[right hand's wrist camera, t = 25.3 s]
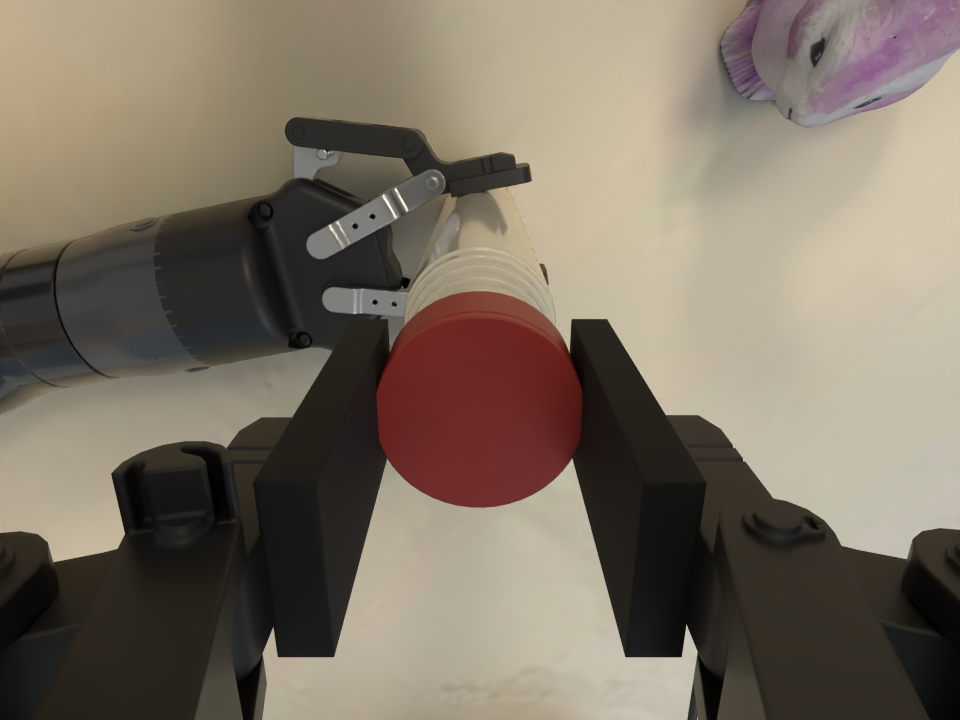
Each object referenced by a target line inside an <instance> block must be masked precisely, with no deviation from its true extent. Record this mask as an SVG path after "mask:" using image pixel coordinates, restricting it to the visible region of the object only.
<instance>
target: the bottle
mask: <svg viewBox="0 0 960 720" xmlns="http://www.w3.org/2000/svg"><path fill="white" fill-rule="evenodd" d="M471 291H490V292H496V293H502V294H506V295H509V296H512V297H515V298H517V299H520V300H522V301H524V302H526V303H528V304H530V305H531V306H533V307H534V308H536V309H537V310H539V311H540V312H541V313H542V314H544V315H545V316H546V317H547V318H548V319H549V320H550V321H551V322H552V323H553V324H554V326H555V327H556V314H555V306H554V302H553V299H552V295H551V293H550V290H549V288H548V285H547V283H546V280H545V277H544V275H543V272H542V270H541V267H540V265H539V262H538V259H537V257H536V254H535V252H534V249H533V247H532V244H531V241H530V239H529V236H528V234H527V231H526V229H525V226H524V224H523V221H522V218H521V216H520V213H519V211H518V208H517V206H516V203H515V201H514V198H513V197H512V195H511V193H510V192H509V191H508V190H507V189H506V188H505V187H502V188H497V189H492V190H487V191H482V192H477V193H471V194H467V195H462V196H457V197H452V198H451V194H450V193H449V195H448V196H447V198H446V200H445V203H444V205H443V208H442V210H441V213H440V215H439V218H438V220H437V223H436V226H435V228H434V231H433V233H432V236H431V238H430V241H429V243H428V246H427V248H426V251H425V253H424V256H423V258H422V261H421V264H420V266H419V269H418V271H417V274H416V276H415V279H414V281H413V284H412V286H411V289H410V291H409V294H408V297H407V300H406V304H405V309H404V326H405V325H406V324H407V322H408V321H409V320H410V319H411V318H412V317H413V316H415V315H416V314H417V313H418V312H419V311H421V310H422V309H423V308H425V307H426V306H428V305H429V304H431V303H433V302H435V301H437V300H439V299H442V298H444V297H447V296H450V295H453V294H458V293H462V292H471Z"/></svg>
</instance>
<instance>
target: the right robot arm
mask: <svg viewBox="0 0 960 720" xmlns="http://www.w3.org/2000/svg"><path fill="white" fill-rule="evenodd" d="M389 354H390V350H389V331H388V319H352V321H351V323H350V324H349V326H348V328H347V329H346V331H345V332H344V334H343V336H342V337H341V339H340V341H339V342H338V344H337V346H336V347H335V349H334V350H333V352H332V354H331V355H330V357H329V359H328V360H327V362H326V363H325V365H324V367H323V368H322V370H321V372H320V373H319V375H318V377H317V378H316V380H315V381H314V383H313V385H312V386H311V388H310V390H309V391H308V393H307V394H306V396H305V398H304V399H303V401H302V403H301V404H300V406H299V408H298V409H297V411H296V412H295V414H294V416H293V417H292V418H260V419H258V420H257V421H255V422H253V423H252V424H250V425H249V426H247V427H245V428H244V429H242V430H240V431H239V432H238V434H237V435H236V436H235V438H234V439H233V440H232V442H231V443H230V444H229V446H228V447H227V449H226V448H225V447H223V446H222V445H219V444H215V443H210V442H206V441H184V442H179V443H173V444H167V445H162V446H159V447H156V448H153V449H150V450H147V451H144V452H141V453H139V454H137V455H135V456H133V457H131V458H130V459H128V460H126V461H124V462H122V463H121V464H120V465H119V466H118V467H117V468H116V469H115V470H114V471H113V472H112V473H111V475H112V479H113V484H114V488H115V492H116V496H117V501H118V505H119V509H120V514H121V518H122V522H123V526H124V531H125V535H124V537H123V539H122V541H121V543H120V545H119V547H118V549H116V550H112V551H108V552H104V553H99V554H94V555H89V556H84V557H79V558H73V559H68V560H63V561H58V562H53V560H52V556H51V553H50V549H49V546H48V542H47V541H45V540H44V539H43V538H42V537H40V536H39V535H38V534H32V533H27V532H21V531H19V532H8V533H0V720H262V716H263V708H264V700H265V693H266V685H267V682H266V674H265V667H264V661H263V654H262V653H263V651H264V648H265V646H266V643H267V641H268V638H269V636H270V633H271V631H272V628H273V626H274V633H275V640H276V647H277V654H278V657H334V655H335V651H336V648H337V644H338V640H339V637H340V633H341V629H342V625H343V622H344V618H345V614H346V610H347V607H348V603H349V599H350V595H351V592H352V588H353V584H354V580H355V577H356V573H357V569H358V565H359V562H360V558H361V554H362V550H363V547H364V543H365V539H366V535H367V532H368V528H369V524H370V520H371V517H372V513H373V509H374V505H375V502H376V498H377V494H378V490H379V487H380V483H381V479H382V475H383V472H384V468H385V464H386V460H387V457H386V455H385V453H384V451H383V449H382V447H381V445H380V442H379V429H378V413H377V397H376V391H377V387H378V383H379V380H380V378H381V375H382V372H383V370H384V367H385V364H386V362H387V359H388V356H389ZM570 356H571V359H572V362H573V364H574V367H575V370H576V372H577V375H578V378H579V381H580V384H581V386H582V390H583V405H582V421H581V437H580V443H579V445H578V448H577V450H576V452H575V454H574V455H573V457H572V458H573V462H574V466H575V470H576V473H577V477H578V481H579V485H580V488H581V492H582V496H583V500H584V503H585V507H586V511H587V515H588V518H589V522H590V526H591V530H592V533H593V537H594V541H595V545H596V548H597V552H598V556H599V560H600V563H601V567H602V571H603V575H604V578H605V582H606V586H607V590H608V593H609V597H610V601H611V605H612V608H613V612H614V616H615V620H616V623H617V627H618V631H619V635H620V638H621V642H622V646H623V650H624V653H625V657H682V651H683V644H684V637H685V630H686V624H687V626H688V629H689V631H690V634H691V636H692V639H693V641H694V644H695V646H696V649H697V651H698V654H697V661H696V667H695V674H694V680H693V686H692V693H691V699H690V706H689V712H688V719H687V720H697V716H698V720H960V530H954V529H942V528H939V529H933V530H927V531H922V532H921V533H920V534H918V535H917V536H916V537H915V538H914V539H913V540H912V544H911V547H910V551H909V554H908V558H907V559H902V558H897V557H892V556H886V555H881V554H876V553H871V552H866V551H860V550H856V549H852V548H848V547H844V546H841V544H840V542H839V540H838V538H837V536H836V534H835V533H834V531H833V530H832V529H831V528H830V527H829V526H828V524H827V523H826V522H825V521H824V520H823V519H821V518H820V517H818V516H817V515H815V514H814V513H812V512H810V511H809V510H807V509H805V508H802V507H800V506H797V505H795V504H792V503H790V502H787V501H783V500H778V499H773V497H772V496H771V495H770V494H769V492H768V491H767V490H766V488H765V487H764V486H763V484H762V483H761V482H760V480H759V479H758V478H757V476H756V475H755V474H754V472H753V471H752V470H751V468H750V467H749V466H748V465H747V463H746V462H743V458H742V457H741V455H740V454H739V453H738V451H737V450H736V449H735V448H733V445H732V443H731V442H730V441H729V439H728V438H727V437H726V436H725V434H724V433H723V432H722V430H721V429H720V428H718V427H716V426H715V425H713V424H712V423H710V422H708V421H707V420H705V419H703V418H702V417H700V416H698V415H665V413H664V412H663V410H662V408H661V407H660V405H659V403H658V402H657V400H656V399H655V397H654V395H653V394H652V392H651V390H650V389H649V387H648V386H647V384H646V382H645V381H644V379H643V377H642V376H641V374H640V372H639V371H638V369H637V368H636V366H635V364H634V363H633V361H632V359H631V358H630V356H629V354H628V353H627V351H626V350H625V348H624V346H623V345H622V343H621V341H620V340H619V338H618V337H617V335H616V333H615V332H614V330H613V328H612V327H611V325H610V323H609V322H608V320H607V319H572V322H571V341H570Z"/></svg>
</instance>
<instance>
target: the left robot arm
mask: <svg viewBox="0 0 960 720" xmlns="http://www.w3.org/2000/svg"><path fill="white" fill-rule="evenodd" d="M285 134H286V137H287V139H288V141H289V142H290V143H291V144H293V179H291V180H289V181H288V182H286V183H285V184H284V185H283V186H282V187H281V188H280V189H279V190H277V191H276V192H274V193H273V194H269V195H264V196H259V197H255V198H250V199H245V200H240V201H235V202H230V203H225V204H220V205H215V206H210V207H206V208H201V209H196V210H191V211H186V212H181V213H176V214H171V215H166V216H161V217H156V218H146V219H143V220H140V221H136V222H132V223H128V224H124V225H120V226H116V227H113V228H110V229H107V230H105V231H102V232H99V233H97V234H94V235H91V236H88V237H84V238H80V239H74V240H70V241H65V242H60V243H55V244H50V245H45V246H40V247H35V248H30V249H25V250H21V251H16V252H12V253H8V254H4V255H0V415H2V414H4V413H7V412H9V411H11V410H13V409H15V408H18V407H20V406H22V405H23V404H25V403H27V402H29V401H31V400H33V399H34V398H36V397H38V396H40V395H42V394H44V393H46V392H48V391H51V390H54V389H61V388H67V387H74V386H79V385H85V384H90V383H96V382H101V381H106V380H112V379H117V378H121V377H129V376H150V375H163V374H171V373H177V372H183V371H188V372H195V371H200V370H204V369H208V368H210V367H211V366H215V365H221V364H226V363H231V362H237V361H242V360H247V359H253V358H258V357H263V356H269V355H274V354H280V353H285V352H291V351H296V350H301V349H305V348H311V347H319V348H324V349H328V350H331V351H333V350H334V349H335V347H336V346H337V344H338V342H339V341H340V339H341V337H342V336H343V334H344V332H345V331H346V329H347V328H348V326H349V324H350V323H351V321H352V319H381V318H382V317H383V316H395V317H404V309H405V304H406V300H407V297H408V294H409V291H410V289H411V286H412V284H413V281H414V279H415V276H413V275H403V274H402V271H401V266H400V263H399V261H398V260H397V258H396V256H395V254H394V252H393V250H392V229H391V225H390V223H391V222H393V221H395V220H396V219H398V218H400V217H402V216H403V215H404V214H406V213H408V212H409V211H411V210H413V209H415V208H417V207H419V206H421V205H422V204H424V203H426V202H428V201H430V200H432V199H433V198H435V197H437V196H439V195H441V194H446V193H450V194H451V198H452V197H457V196H462V195H467V194H471V193H477V192H482V191H487V190H492V189H497V188H502V187H507V186H512V185H517V184H522V183H527V182H530V181H532V178H531V172H530V166H529V164H528V163H521V164H516V163H515V157H514V155H513V154H508V153H503V152H500V153H495V154H490V155H485V156H480V157H475V158H470V159H465V160H460V161H456V162H444V161H442V160H440V159H439V158H438V157H437V156H436V155H435V154H434V152H433V150H432V149H431V147H430V145H429V144H428V142H427V140H426V137H425V135H424V134H423V133H422V132H421V131H420V130H418V129H412V128H403V127H394V126H386V125H377V124H368V123H359V122H351V121H342V120H333V119H325V118H316V117H297V118H293V119H291V120H290V121H288V123H287V124H286V127H285ZM343 152H350V153H359V154H368V155H376V156H385V157H394V158H403V160H404V161H405V163H406V164H407V166H408V168H409V169H410V171H411V173H412V174H413V176H412V177H410V178H408V179H406V180H405V181H403V182H401V183H399V184H397V185H395V186H393V187H391V188H389V189H388V190H386V191H384V192H382V193H380V194H378V195H377V196H375V197H373V198H371V199H369V200H368V201H365V200H363V199H361V198H359V197H356V196H354V195H352V194H350V193H348V192H346V191H344V190H341V189H339V188H337V187H335V186H333V185H331V184H328V183H326V182H324V181H322V180H320V179H318V173H319V171H320V170H321V169H322V168H323V167H330V166H333V165H336V164H338V163H339V162H340V161H341V159H342V157H343ZM539 265H540V267H541V270H542V272H543V275H544V277H545V280H546V283H547V285H549V283H548V277H547V270H546V268H545V266H544V264H539ZM401 286H403V288H401ZM395 302H396V303H397V304H394V303H395ZM391 349H392V346H391V345H390V344H389V350H390V351H391Z"/></svg>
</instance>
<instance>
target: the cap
mask: <svg viewBox="0 0 960 720" xmlns="http://www.w3.org/2000/svg"><path fill="white" fill-rule="evenodd" d="M376 397H377V413H378V429H379V442H380V445H381V447H382V449H383V451H384V453H385V455H386V457H387V459H388V460H389V462H390V463H391V465H392V466H393V467H394V468H395V470H396V471H397V472H398V473H399V474H400V475H401V476H402V477H403V478H404V479H405V480H406V481H407V482H408V483H410V484H411V485H412V486H414V487H415V488H417V489H418V490H419V491H421V492H423V493H425V494H427V495H429V496H430V497H432V498H435V499H437V500H440V501H443V502H446V503H450V504H454V505H458V506H465V507H482V508H484V507H495V506H501V505H506V504H510V503H513V502H516V501H519V500H522V499H524V498H526V497H529V496H531V495H533V494H535V493H536V492H538V491H540V490H541V489H543V488H544V487H546V486H547V485H548V484H549V483H551V482H552V481H553V480H554V479H555V478H556V477H557V476H558V475H559V474H560V473H561V472H562V471H563V470H564V469H565V467H566V466H567V465H568V463H569V462H570V461H571V459H572V457H573V455H574V454H575V452H576V450H577V448H578V445H579V443H580V437H581V421H582V405H583V390H582V386H581V384H580V381H579V378H578V375H577V372H576V370H575V367H574V364H573V362H572V359H571V356H570V354H569V351H568V348H567V346H566V343H565V342H564V340H563V338H562V336H561V334H560V333H559V331H558V330H557V329H556V327H555V326H554V324H553V323H552V322H551V321H550V320H549V319H548V318H547V317H546V316H545V315H544V314H542V313H541V312H540V311H539V310H537V309H536V308H534V307H533V306H531V305H530V304H528V303H526V302H524V301H522V300H520V299H517V298H515V297H512V296H509V295H506V294H502V293H496V292H490V291H471V292H462V293H458V294H453V295H450V296H447V297H444V298H442V299H439V300H437V301H435V302H433V303H431V304H429V305H428V306H426V307H425V308H423V309H422V310H421V311H419V312H418V313H417V314H416V315H415V316H413V317H412V318H411V319H410V320H409V321H408V322H407V324H406V325H405V326H404V327H403V329H402V330H401V331H400V333H399V335H398V336H397V338H396V340H395V342H394V344H393V346H392V349H391V351H390V354H389V356H388V359H387V362H386V364H385V367H384V370H383V372H382V375H381V378H380V380H379V383H378V387H377V391H376Z"/></svg>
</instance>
